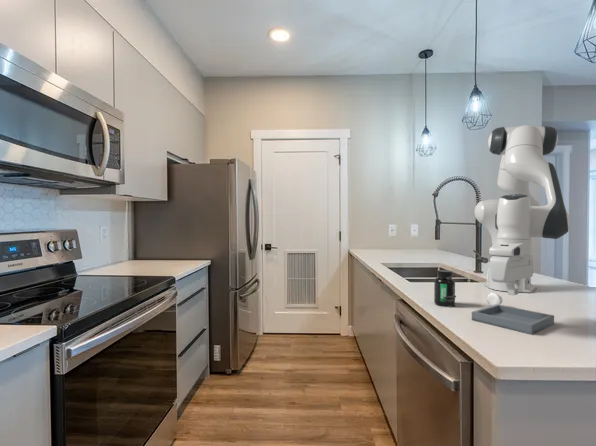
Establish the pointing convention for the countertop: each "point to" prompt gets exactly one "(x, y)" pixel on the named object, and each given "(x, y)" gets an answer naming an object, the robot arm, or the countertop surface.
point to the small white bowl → (494, 299)
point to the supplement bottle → (443, 288)
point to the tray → (513, 318)
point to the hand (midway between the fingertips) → (513, 294)
